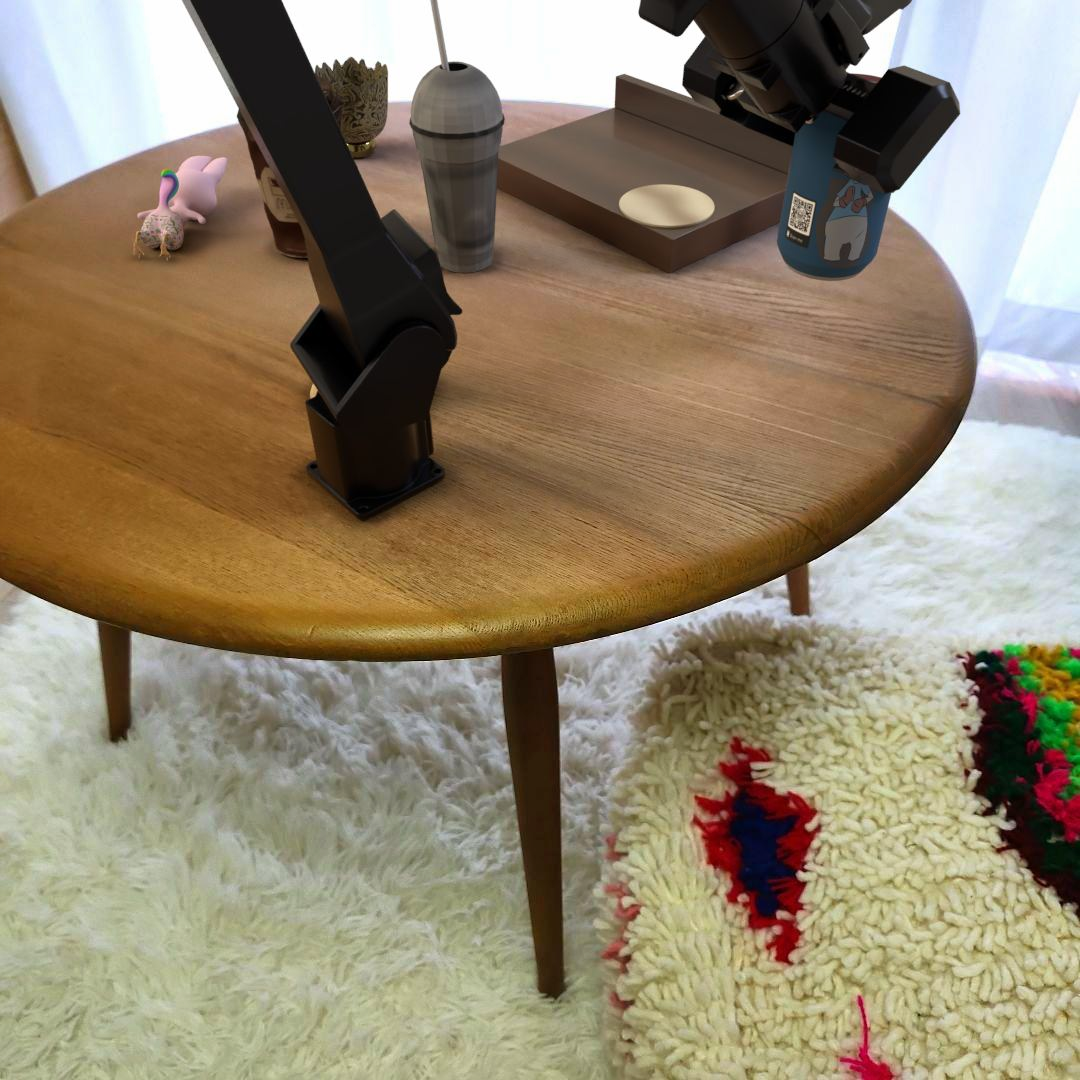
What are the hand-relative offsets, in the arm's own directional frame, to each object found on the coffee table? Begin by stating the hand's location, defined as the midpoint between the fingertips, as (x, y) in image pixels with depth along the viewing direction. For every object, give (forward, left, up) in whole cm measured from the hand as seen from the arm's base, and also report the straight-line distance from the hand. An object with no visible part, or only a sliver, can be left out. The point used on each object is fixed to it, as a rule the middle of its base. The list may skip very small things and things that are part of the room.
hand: (857, 167), depth 69 cm
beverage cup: (-14, +27, -12) cm, 32 cm away
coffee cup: (-22, +38, -12) cm, 45 cm away
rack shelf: (+6, +26, -12) cm, 29 cm away
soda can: (-1, 0, -7) cm, 7 cm away
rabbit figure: (-28, +49, -12) cm, 57 cm away
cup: (-8, +52, -12) cm, 54 cm away
